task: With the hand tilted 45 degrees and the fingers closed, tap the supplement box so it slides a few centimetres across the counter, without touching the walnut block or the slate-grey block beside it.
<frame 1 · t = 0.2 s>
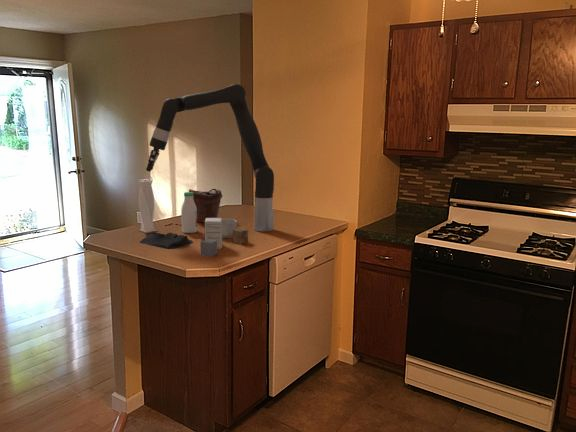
hand: (149, 170, 242), 31 cm above the counter, tool tilted 20°, fingers open, 8 cm apart
slate-grey block: (208, 254, 212), on the counter
skyscraper: (148, 231, 251), on the counter
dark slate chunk: (166, 244, 230), on the counter
walnut block: (240, 242, 234), on the counter
teacup: (222, 236, 244), on the counter
milk bottle: (189, 232, 252), on the counter
wooden bucket: (205, 220, 279), on the counter
supplement box: (213, 247, 225), on the counter
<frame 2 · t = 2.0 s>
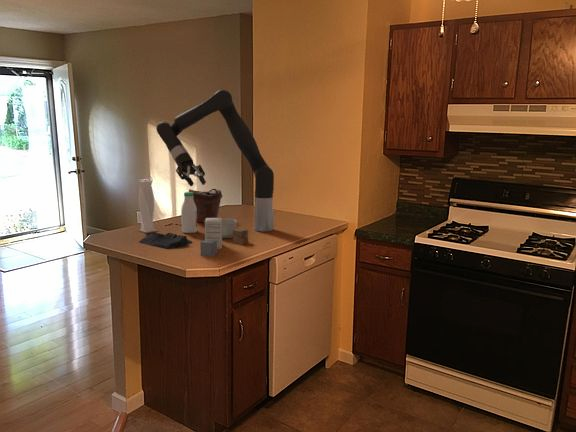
hand: (198, 184, 231), 26 cm above the counter, tool tilted 45°, fingers open, 6 cm apart
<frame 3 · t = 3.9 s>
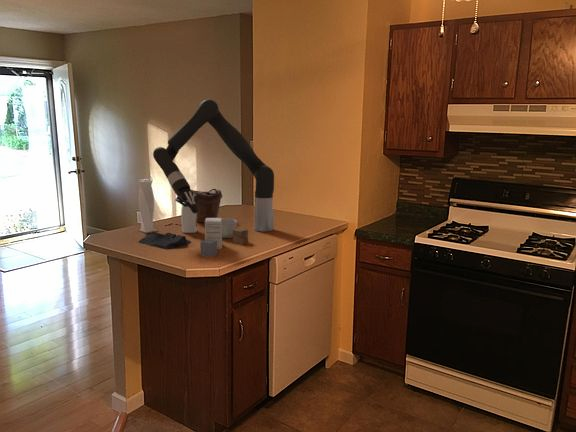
hand: (196, 212, 229), 14 cm above the counter, tool tilted 45°, fingers closed
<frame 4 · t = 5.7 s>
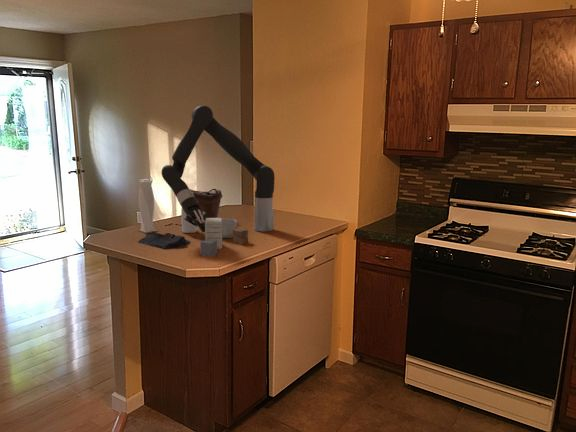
hand: (205, 231, 227), 6 cm above the counter, tool tilted 45°, fingers closed
supplement box: (213, 247, 225), on the counter, touching gripper
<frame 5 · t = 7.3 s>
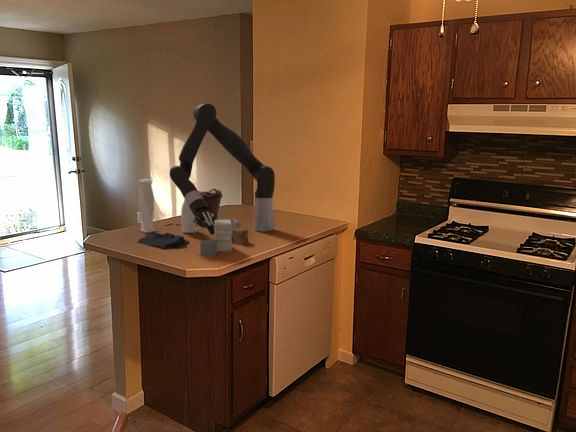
hand: (214, 233, 223), 6 cm above the counter, tool tilted 45°, fingers closed
supplement box: (223, 249, 221), on the counter, touching gripper
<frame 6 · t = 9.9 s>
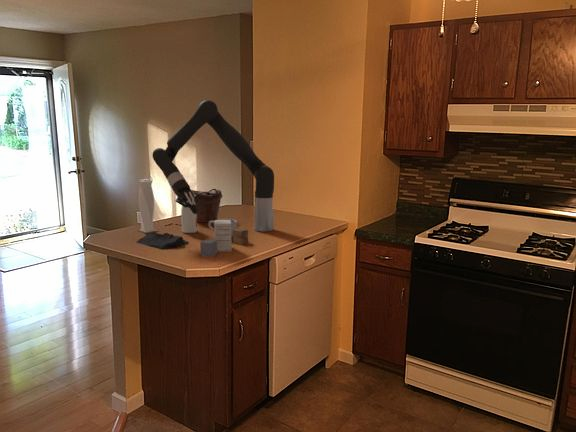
hand: (196, 212, 229), 14 cm above the counter, tool tilted 45°, fingers closed
supplement box: (223, 249, 221), on the counter
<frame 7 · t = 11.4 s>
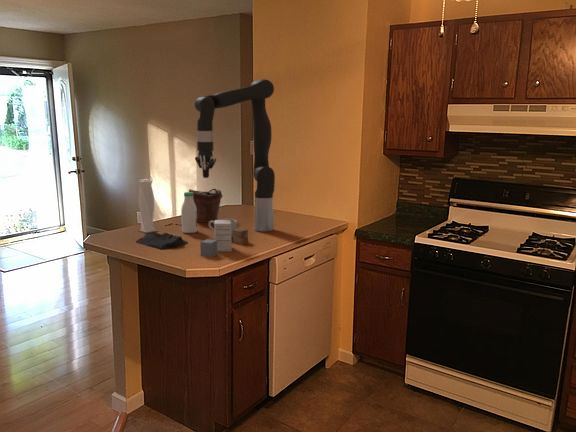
hand: (205, 177, 237), 29 cm above the counter, tool pointing down, fingers closed
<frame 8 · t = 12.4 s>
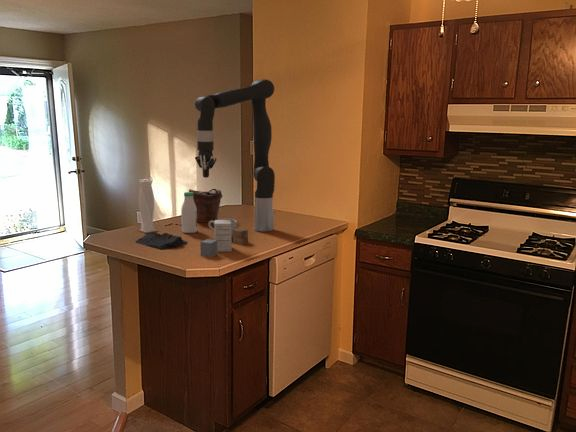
hand: (205, 177, 237), 29 cm above the counter, tool pointing down, fingers closed
at the end: supplement box moved 6.2 cm from its start; walnut block moved 0.1 cm from its start; slate-grey block moved 0.1 cm from its start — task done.
